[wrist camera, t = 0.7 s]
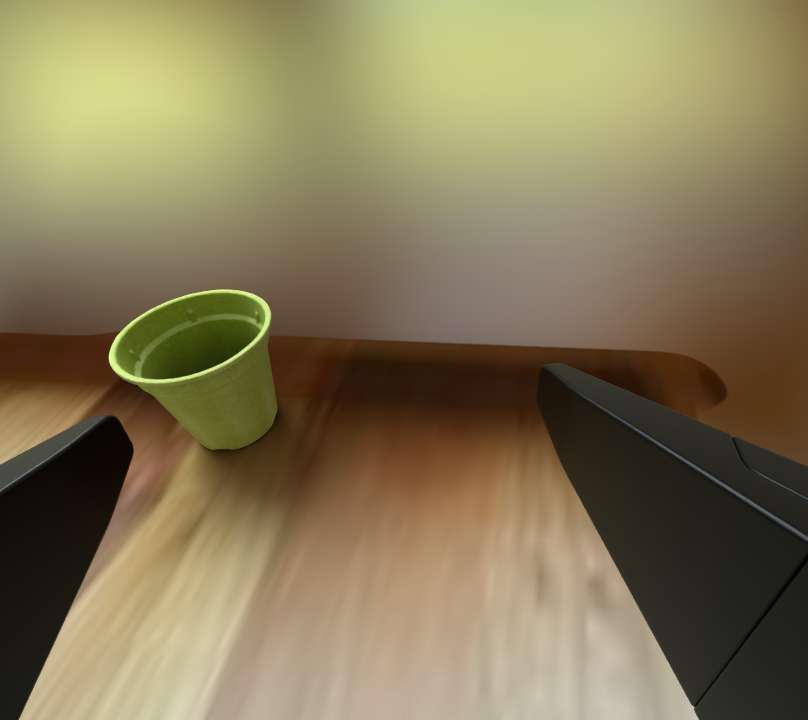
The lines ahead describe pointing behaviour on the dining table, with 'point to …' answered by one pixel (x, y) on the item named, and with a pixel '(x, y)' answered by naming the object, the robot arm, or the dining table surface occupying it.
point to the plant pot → (205, 364)
